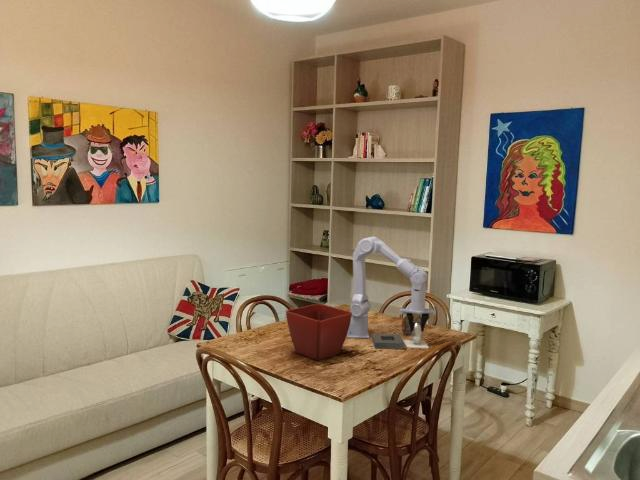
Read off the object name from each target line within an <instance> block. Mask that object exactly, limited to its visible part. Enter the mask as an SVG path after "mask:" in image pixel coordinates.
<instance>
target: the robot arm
mask: <svg viewBox="0 0 640 480" xmlns="http://www.w3.org/2000/svg"><path fill="white" fill-rule="evenodd" d="M371 253H373V254H381V255H383V256H384V257H386V258H387V259H388V260H390V261H391V262H392V263H394V264H395V266H396V268H397V270H398V271H399V272H400V273H402V274H403V275H404V276H405V277H407V278H408V279H409V280H410V283H411V294H410V295H411V296H410V297H411V299H410V307H409V308H407V307H406V308H399V314H400V315H405V316H407V318H408V321H409V324H410V331H411V332H413V318H414V317H413V315H412V314H420V315H421V322H422V333H424V330H425V328H426V327H425V326H426V324H427V322H428V320H429V319H430V315H432V316H436V309H433V308H432V309H431V308H426V307H425V306H426V293H427V292H426V289H427V288H426V286H427V284H426V283H427V280H428V273H427V272H426V271H425V270H424V269H420V268H421V267H419V266H416V265H415V264H414V263H413V262H411V261H412V259H410V258H408V259H407V258H406V257H405V258H403V257H400V255H398V254H397V253H396V252H395V251H393V250H392V249H391V248H390V246H388V245H387V244H385V242H384V241H383V240H381V239H379V238H378V237H377V236H369V237H365V238H362V239H361V240H360V241H359V242H357V246H356V247H355V249H354V251H353V253H352V265H353V266H352V271H353V275H352V276H353V296H352V299H351V305H350V307H349V310H350V311H349V312H351V313H352V317H351V322H350V326H349V329H348V333H347V336H346V338H350V339H355V338H357V339H369V338H370V334H369V312H370V311H371V307H372V305H371V303H370V301H369V296H368V294H367V281H366V280H367V279H366V277H367V276H366V275H367V274H366V258H367V257H368V256H369V255H370V254H371Z"/></svg>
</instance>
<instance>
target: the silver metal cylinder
mask: <svg viewBox="0 0 640 480" xmlns="http://www.w3.org/2000/svg"><path fill="white" fill-rule="evenodd" d="M422 333H423V332H422V322H420V321H414V322H413V332H412V334H411V340H412V342H416V343H419V342H421V341H422V338H423V337H422V335H423V334H422Z"/></svg>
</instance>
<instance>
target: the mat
mask: <svg viewBox="0 0 640 480" xmlns="http://www.w3.org/2000/svg"><path fill="white" fill-rule="evenodd" d="M403 342H404V346H406V348H407V349H430V347H429V344H428V343H427V341H426V340H421V342H419V343H416V342H412V339H411V340H409V339H403Z"/></svg>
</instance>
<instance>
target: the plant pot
mask: <svg viewBox="0 0 640 480" xmlns="http://www.w3.org/2000/svg"><path fill="white" fill-rule="evenodd" d="M285 313H286V314H285V315H286V322H287V327H288V330H289V335H290V338H291V342H292V345H293V348H294V350H295V352H296V353H297V354H300V355H302V356H305V357H308V358H310V359H312V360H316V361H320V360H324V359H327V358H329V357H334V356H336V355H339V354H340V353H341V351H342V349H343V346H344V343H345V341H346V338H347V333H348V329H349V326H350V322H351V317H352V313H351V312H350V311H347V310H344V309H340V308H336V307H333V306H330V305H326V304H322V303H316V304H310V305H306V306H302V307H297V308H292V309H288V310H285Z"/></svg>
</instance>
